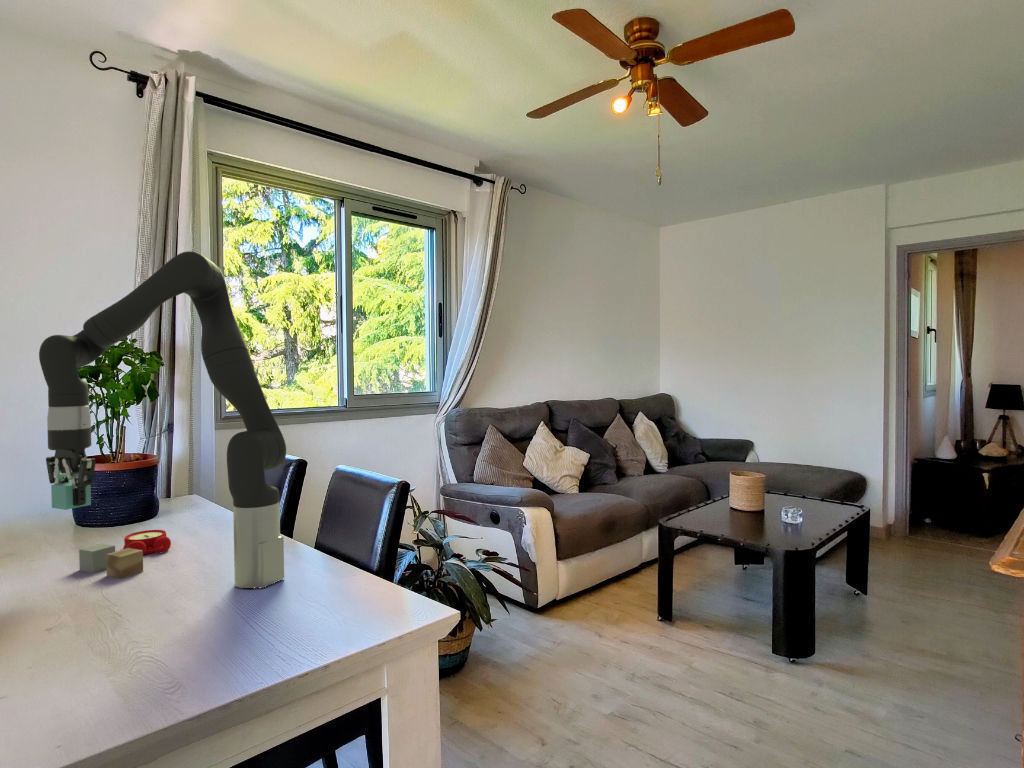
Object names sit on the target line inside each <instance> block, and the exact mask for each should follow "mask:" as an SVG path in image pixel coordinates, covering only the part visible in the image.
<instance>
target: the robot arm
mask: <svg viewBox="0 0 1024 768" xmlns="http://www.w3.org/2000/svg"><path fill="white" fill-rule="evenodd" d="M227 287H228V286H227V282H226V279H225V276H224V274H223V272H222V270H221V268H220V267H219V266H218V265H217V264H216V263H214V262H213V261H211V260H210V259H208V258H207V257H206V256H204V255H203V254H201V253H198V252H196V251H189V250H188V251H184V252H180V253H179V254H177V255H175V256H173V257H172V258H171V259H169V260H168V261H167V262H166V263H164V264H163V265H162V266H161V267H159V269H157V271H155V272H153V274H152V275H150V276H149V277H148V278H147V279H145V280H144V281H143V282H142V283H141V284H140V285H139V286H137V287H136V288H135V289H133V290H132V291H131V292H129V293H128V294H126V295H125V296H123V297H122V298H121V299H120V300H117V301H116V302H115V303H113V304H111V305H110V306H108V307H106V308H104V309H103V310H102V311H99V312H98V313H96V314H94V315H92V316H91V317H90V318H88V319H87V320H86V321H84V323H83V327H82V330H81V331H79V332H78V333H76V334H74V335H64V334H53V335H51V336H48V337H46V338H45V339H44V340H43V341H42V342H41V345H40V347H39V352H38V356H39V357H38V360H39V364H40V367H41V371H42V374H43V378H44V380H45V384H46V385H47V391H48V392H47V394H48V397H47V399H48V400H47V401H48V403H47V404H48V405H47V406H48V409H47V410H48V411H47V417H46V421H47V423H46V425H47V449H48V450H50V451H54V456H47V457H45V462H46V463H45V465H46V469H47V475H48V480H49V482H48V483H49V484H51V485H54V484H60V483H66V482H71V483H72V487H73V505H74V506H80V505H84V504H85V503H86V490H85V489H86V487H87V486H88V485H93V484H94V477H95V469H96V459H95V458H94V457H93V458H88V457H87V454H86V449H88V448H91V447H92V418H91V416H92V415H91V412H90V399H89V398H90V396H89V395H90V392H89V384H88V382H87V381H85V380H84V379H82V378H80V376H79V371H78V368H82V367H85V366H87V365H89V364H91V363H93V362H95V361H96V360H97V359H99V358H100V356H102V355H103V354H104V353H105V352H107V350H108V349H109V348H111V347H112V346H113V345H116V344H117V343H118V342H120V341H122V340H124V339H125V338H127V337H129V336H130V335H132V334H133V333H136V331H138V330H139V329H140V328H141V327H142V326H144V324H146V323H147V321H148V320H149V318H151V316H152V315H153V313H154V312H155V311H156V310H157V309H158V308H159V307H160V306H161V305H163V304H164V303H165V302H167V301H169V300H171V299H172V298H174V297H176V296H179V295H181V294H182V295H183V294H186V295H188V296H189V298H190V300H191V301H192V303H193V305H194V307H195V309H196V312H197V315H198V318H199V320H200V323H201V325H200V326H201V338H200V339H201V341H200V349H201V350H200V351H201V356H202V360H203V363H204V366H205V369H206V370H207V371H206V372H207V375H208V377H209V380H210V381H211V383H212V385H213V386H214V388H215V389H216V390H217V391H218V392H219V394H221V396H223V398H224V399H226V401H227V402H228V403H229V404H231V406H232V407H234V409H235V410H236V411H237V413H238V414H239V416H240V418H241V419H242V422H243V424H244V426H245V430H244V431H240V432H237V433H236V434H234V435H233V436H232V437H231V438H230V439H229V441H228V444H227V448H226V466H227V467H226V468H227V480H228V490H229V493H230V495H231V498H232V504H233V506H232V507H233V514H232V515H233V554H234V555H233V561H234V565H233V566H234V567H233V569H234V586H235V587H236V588H238V587H239V589H243V588H253V589H257V588H256V587H261V588H263V587H265V586H268V585H270V584H272V583H274V582H276V581H278V580H281V579H283V578H284V579H285V550H284V549H285V547H284V546H285V545H284V542H285V540H284V536H281V521H280V520H281V519H280V518H281V516H280V515H281V512H280V490H279V488H278V487H276V486H271V485H269V484H268V483H267V481H266V475H265V471H267V470H268V471H269V470H272V469H276V468H278V467H280V466H281V465H282V464H283V463H284V461H285V459H286V456H287V445H286V441H285V438H284V435H283V433H282V431H281V429H280V427H279V425H278V422H277V421H276V418H275V417H274V414H273V413H272V411H271V409H270V406H269V404H268V402H267V399H266V395H265V394H264V391H263V389H262V387H261V383H260V381H259V379H258V376H257V373H256V370H255V367H254V364H253V363H254V362H253V361H252V358H251V355H250V351H249V349H248V347H247V345H246V343H245V340H244V337H243V334H242V332H241V330H240V327H239V324H238V322H237V320H236V318H235V314H234V313H233V312H234V311H233V308H232V305H231V301H230V297H229V292H228V288H227ZM77 481H78V482H77ZM284 579H283V580H284ZM281 581H282V580H281ZM274 584H275V583H274ZM272 585H273V584H272ZM270 586H271V585H270ZM254 587H255V588H254ZM268 587H269V586H268ZM261 588H260V589H261ZM265 588H266V587H265ZM263 589H264V588H263Z"/></svg>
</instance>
